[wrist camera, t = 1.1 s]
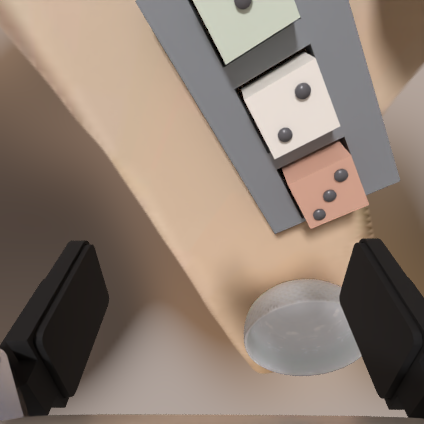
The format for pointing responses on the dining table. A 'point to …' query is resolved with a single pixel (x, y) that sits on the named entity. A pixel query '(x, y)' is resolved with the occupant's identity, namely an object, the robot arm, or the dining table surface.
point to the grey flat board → (263, 60)
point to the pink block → (325, 184)
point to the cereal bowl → (300, 329)
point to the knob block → (244, 22)
